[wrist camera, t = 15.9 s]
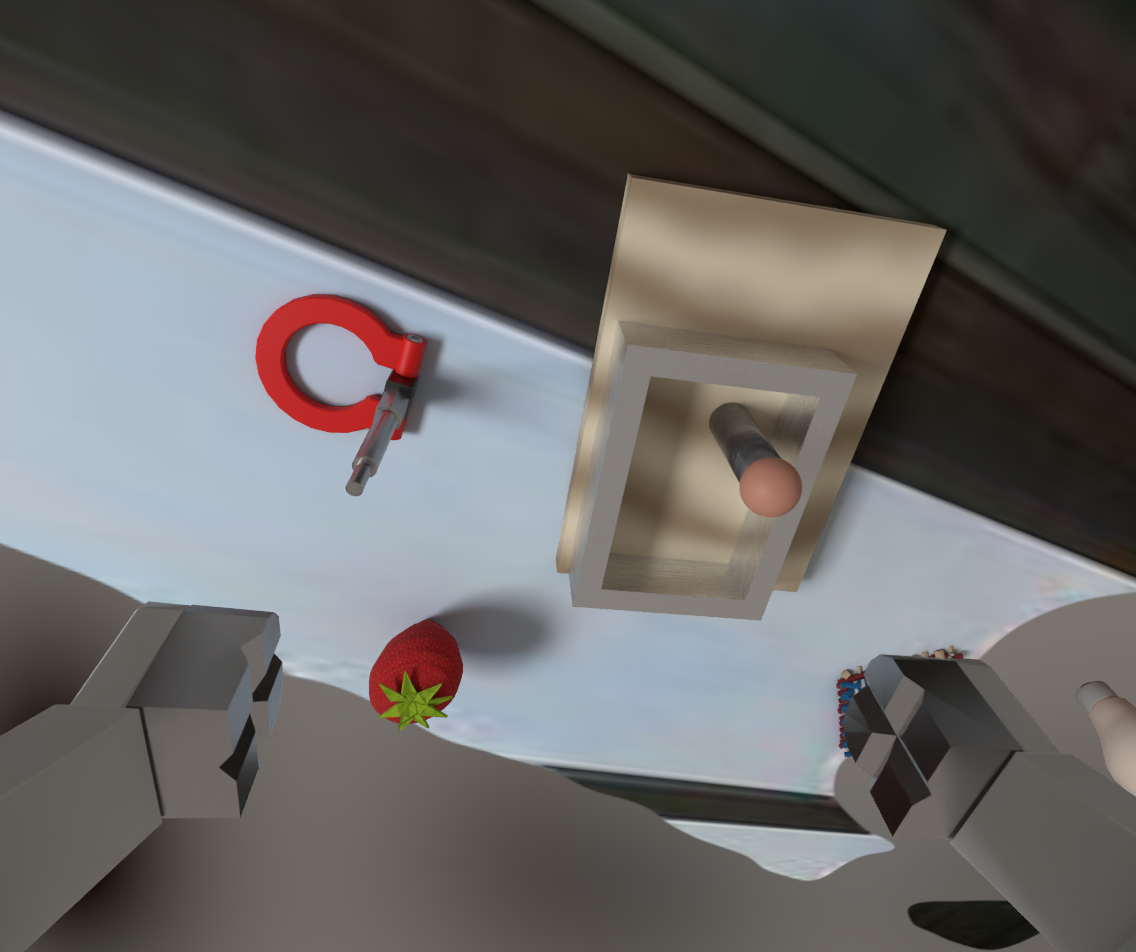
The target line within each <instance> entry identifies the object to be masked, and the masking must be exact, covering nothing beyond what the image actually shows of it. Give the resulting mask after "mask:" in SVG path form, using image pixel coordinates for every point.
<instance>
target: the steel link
mask: <svg viewBox="0 0 1136 952" xmlns="http://www.w3.org/2000/svg"><path fill="white" fill-rule="evenodd" d="M651 376H652V377H660V378H668V379H676V380H685V381H693V382H701V383H709V384H717V385H725V386H733V387H741V388H749V389H757V390H765V391H773V392H781V393H787V395H786V398H785V401H784V404H783V407H782V410H781V413H780V415H779V418H778V421H777V424H776V427H775V430H774V433H773V436H772V439H771V442H770V443H771V445H772V446H773V447H774V449H775V450H776V452H777V453H778V455H779V456H780V457H781V459H783V460H785V461H787V462H788V463H790V464H791V465H792V466H793V467H794V468H795V469H796V470H797V472H798V473H799V475H800V478H801V481H802V494H801V497H800V500H799V502H798V503H797V505H796V506H795V507H794V508H793V509H792V510H791V511H790V512H788V513H786V514H785V515H782V516H779V517H763V516H760V515H757V514H755V513H754V512H752V511H751V510H750V509H749V508H748V509H747V512H746V515H745V518H744V521H743V524H742V526H741V529H740V532H739V535H738V538H737V541H736V544H735V547H734V550H733V553H732V556H731V559H730V561H729V563H717V562H705V561H693V560H682V559H670V558H658V557H647V556H635V555H623V554H612V553H610V549H611V545H612V540H613V536H614V532H615V527H616V523H617V519H618V515H619V510H620V506H621V502H622V497H623V493H624V489H625V485H626V480H627V476H628V472H629V467H630V463H631V459H632V455H633V450H634V446H635V442H636V437H637V433H638V429H639V425H640V420H641V416H642V412H643V407H644V403H645V399H646V395H647V390H648V386H649V382H650V377H651ZM856 376H857V374H856V373H855V372H854V371H853V370H852V369H851V368H849V367H848V366H847V365H846V364H845V363H844V362H843V361H841V360H840V359H839V358H838V357H837V356H836V355H835V354H833V353H832V352H831V351H830V350H829V349H825V348H817V347H810V346H803V345H795V344H788V343H780V342H773V341H766V340H758V339H751V338H743V337H736V336H729V335H721V334H714V333H706V332H699V331H691V330H684V329H677V328H669V327H662V326H654V325H647V324H640V323H632V322H625V321H617V326H616V331H615V336H614V341H613V346H612V351H611V356H610V361H609V366H608V371H607V376H606V381H605V386H604V391H603V396H602V401H601V406H600V411H599V416H598V421H597V426H596V431H595V436H594V441H593V446H592V451H591V456H590V461H589V466H588V471H587V476H586V481H585V486H584V491H583V497H582V502H581V507H580V512H579V517H578V522H577V527H576V532H575V537H574V542H573V547H572V552H571V557H570V562H569V567H568V571H569V580H570V588H571V597H572V605H573V607H587V608H600V609H614V610H627V611H641V612H654V613H668V614H682V615H695V616H709V617H722V618H736V619H749V620H761V619H762V616H763V614H764V611H765V609H766V606H767V603H768V601H769V598H770V596H771V593H772V591H773V588H774V586H775V583H776V580H777V578H778V575H779V573H780V570H781V568H782V565H783V563H784V560H785V557H786V555H787V552H788V550H789V547H790V545H791V542H792V540H793V537H794V534H795V532H796V529H797V527H798V524H799V522H800V519H801V517H802V514H803V511H804V509H805V506H806V504H807V501H808V499H809V496H810V493H811V491H812V488H813V486H814V483H815V481H816V478H817V476H818V473H819V470H820V468H821V465H822V463H823V460H824V458H825V455H826V453H827V450H828V447H829V445H830V442H831V440H832V437H833V435H834V432H835V430H836V427H837V424H838V422H839V419H840V417H841V414H842V412H843V409H844V407H845V404H846V401H847V399H848V396H849V394H850V391H851V389H852V386H853V384H854V381H855V378H856Z"/></svg>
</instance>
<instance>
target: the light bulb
mask: <svg viewBox="0 0 1136 952" xmlns="http://www.w3.org/2000/svg"><path fill="white" fill-rule="evenodd" d="M1076 700H1077V701H1078V702H1079V703H1080V704H1081V706H1082V707H1083V708H1084V709H1085V710H1086V711H1087V712H1088V713H1089V714H1090V715H1089V717H1090V720H1091V722H1092V723H1093V725H1094V726H1095V728H1096V729H1097V731H1098V734H1099V737H1100V740H1101V744H1102V749H1103V753H1104V758H1105V763H1106V767H1107V768H1108V770H1109V771H1110V773H1111V775H1112V777H1113V778H1114V780H1116V781H1117V782H1118V783H1119V784H1120V785H1121V786H1123V787H1124V788H1125V789H1126V790H1127V791H1128V792H1130V793H1131V794H1133V795H1134V796H1136V707H1134V706H1133V705H1132V704H1131V703H1129V702H1128V701H1127V700H1126V699H1124V698H1119V697H1118V696H1117V695H1116V693H1115V692H1114V691H1113V690H1112V689H1111V688H1110V687H1109V686H1108V685H1107V684H1105V683H1104V682H1101V681H1095V682H1090V683H1086V684H1084V685H1082V686H1081V688H1080V689H1079V690H1078V692H1077V693H1076Z"/></svg>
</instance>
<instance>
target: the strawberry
mask: <svg viewBox="0 0 1136 952" xmlns="http://www.w3.org/2000/svg"><path fill="white" fill-rule="evenodd" d="M462 674H463V663H462V659H461V656H460V652H459V648H458V645H457V642H456V640H455V639H454V637H453V636H452V635H451V634H450V633H449V632H448V631H446V630H445V629H444V628H443V627H442V626H441V625H439V624H437V623H434V622H433V621H431V620H423V621H421V622H419V623H417V624H414V625H412V626H410V627H409V628H407V629H406V630H404V631H403V632H401V633H400V634H398V635H397V636H396V637H394V638H393V639H392V640H391V641H390V642H389V643H388V644H387V645H386V647H385V648H384V650H383V651H382V653H381V655H380V656H379V658H378V659H377V661H376V663H375V664H374V666H373V668H372V670H371V673H370V679H369V696H370V701H371V704H372V706H373V707H374V709H375V710H376V711H377V712H378V713H379V714H380V716H379V717H378V718H386V719H388V720H390V721H392V722H396V723H400V724H399V725H398V727H399V731H398V732H400V730H402V729H403V728H404V727H405V726H406V725H408V724H412V723H420V724H421V725H423V726H425V727H426V728H429V725H428V724H427V722H426V720H427V719H429V718H431V717H447V715H446V714H444V713H443V712H441V710H443V709H444V708H445V707H446V706H447V705H448V704H449V703H450V702H451V701H452V699H453V698H454V697H455V695H456V692H457V690H458V687H459V684H460V681H461V678H462Z"/></svg>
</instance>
